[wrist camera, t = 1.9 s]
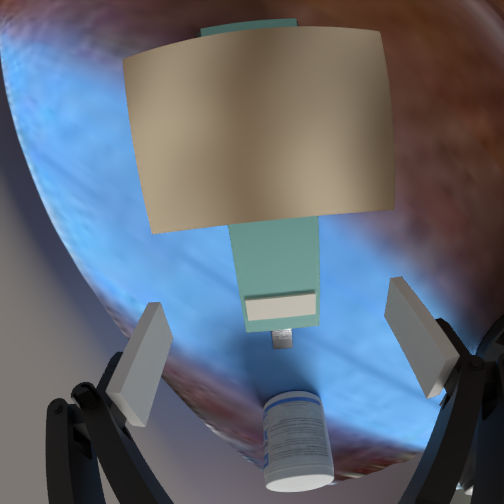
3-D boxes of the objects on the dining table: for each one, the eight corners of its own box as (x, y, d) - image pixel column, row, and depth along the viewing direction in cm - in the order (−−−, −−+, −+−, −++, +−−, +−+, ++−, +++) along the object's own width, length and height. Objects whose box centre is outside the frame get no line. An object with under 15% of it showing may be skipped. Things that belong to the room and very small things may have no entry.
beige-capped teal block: (280, 62, 20) (296, 17, 10) (299, 255, 28) (319, 327, 18) (224, 68, 21) (199, 27, 11) (250, 260, 29) (246, 334, 19)
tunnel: (313, 81, 22) (379, 31, 8) (322, 164, 25) (394, 209, 11) (197, 94, 22) (122, 59, 9) (209, 175, 26) (152, 234, 12)
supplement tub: (252, 400, 40) (249, 483, 26) (307, 380, 37) (319, 469, 24) (281, 424, 43) (284, 495, 30) (330, 407, 41) (343, 482, 27)
